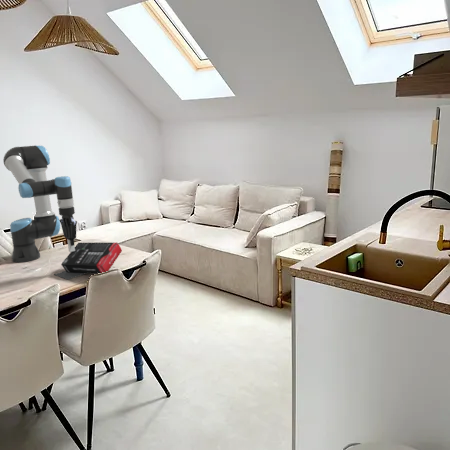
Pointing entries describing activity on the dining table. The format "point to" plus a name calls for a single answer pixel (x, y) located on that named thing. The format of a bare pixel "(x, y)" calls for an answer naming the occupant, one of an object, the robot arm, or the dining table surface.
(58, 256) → the dining table surface
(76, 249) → the graphics card box
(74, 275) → the display mat
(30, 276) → the dining table surface
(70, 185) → the robot arm
